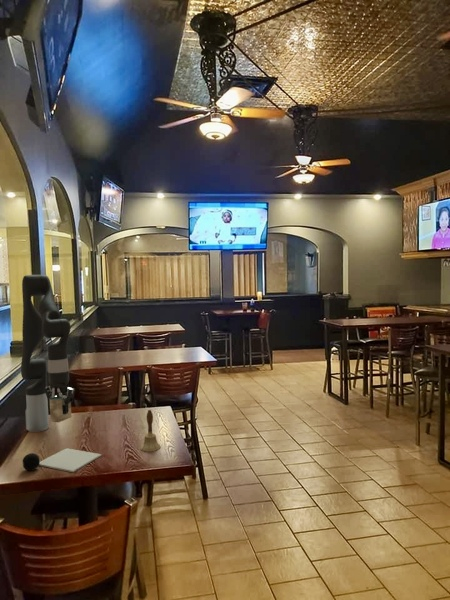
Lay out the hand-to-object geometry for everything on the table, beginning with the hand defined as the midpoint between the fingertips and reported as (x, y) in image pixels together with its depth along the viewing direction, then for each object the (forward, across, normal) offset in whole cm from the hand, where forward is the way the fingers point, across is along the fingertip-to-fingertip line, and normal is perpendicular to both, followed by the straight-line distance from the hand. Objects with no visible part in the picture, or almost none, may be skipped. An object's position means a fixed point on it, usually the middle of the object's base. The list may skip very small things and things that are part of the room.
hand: (60, 413), depth 181 cm
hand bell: (+19, +27, +21) cm, 39 cm away
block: (+3, 0, 0) cm, 3 cm away
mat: (+18, +4, 0) cm, 19 cm away
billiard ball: (+19, -4, -12) cm, 23 cm away
